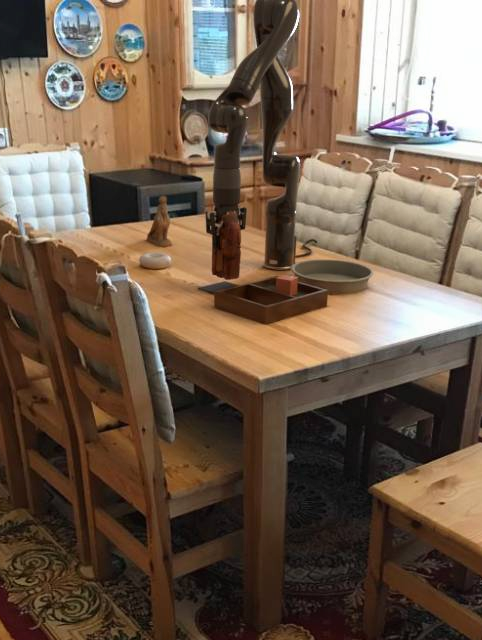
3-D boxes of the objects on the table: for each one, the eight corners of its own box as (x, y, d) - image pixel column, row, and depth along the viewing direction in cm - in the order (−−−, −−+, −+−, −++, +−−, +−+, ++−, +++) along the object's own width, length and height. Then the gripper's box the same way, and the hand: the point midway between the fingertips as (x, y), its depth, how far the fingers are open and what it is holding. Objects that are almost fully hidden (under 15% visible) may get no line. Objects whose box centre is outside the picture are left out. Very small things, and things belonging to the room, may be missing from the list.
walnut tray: (276, 291, 236) (276, 275, 234) (327, 306, 225) (328, 289, 223) (213, 307, 220) (214, 290, 218) (265, 324, 209) (266, 307, 207)
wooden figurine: (205, 271, 236) (205, 206, 227) (224, 269, 239) (225, 205, 230) (225, 281, 227) (225, 214, 218) (245, 279, 230) (246, 212, 221)
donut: (135, 268, 252) (166, 271, 251) (134, 257, 251) (165, 259, 249) (145, 261, 261) (175, 263, 259) (144, 250, 259) (175, 252, 257)
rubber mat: (225, 282, 242) (225, 281, 242) (251, 290, 236) (251, 289, 236) (197, 289, 235) (197, 287, 235) (224, 297, 229) (224, 295, 228)
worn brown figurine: (171, 252, 282) (175, 201, 270) (156, 253, 280) (160, 201, 268) (159, 238, 290) (163, 187, 278) (145, 238, 287) (148, 187, 276)
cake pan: (273, 282, 244) (273, 267, 242) (325, 269, 260) (326, 255, 258) (337, 301, 230) (339, 285, 228) (388, 286, 246) (390, 270, 244)
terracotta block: (282, 290, 228) (283, 274, 226) (297, 293, 226) (298, 277, 224) (275, 294, 224) (276, 277, 222) (289, 297, 222) (290, 280, 220)
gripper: (217, 189, 214) (216, 254, 223) (255, 184, 224) (253, 246, 232) (197, 185, 219) (198, 248, 227) (235, 181, 228) (234, 241, 236)
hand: (225, 247), depth 229 cm, fingers closed on wooden figurine, 6 cm apart
